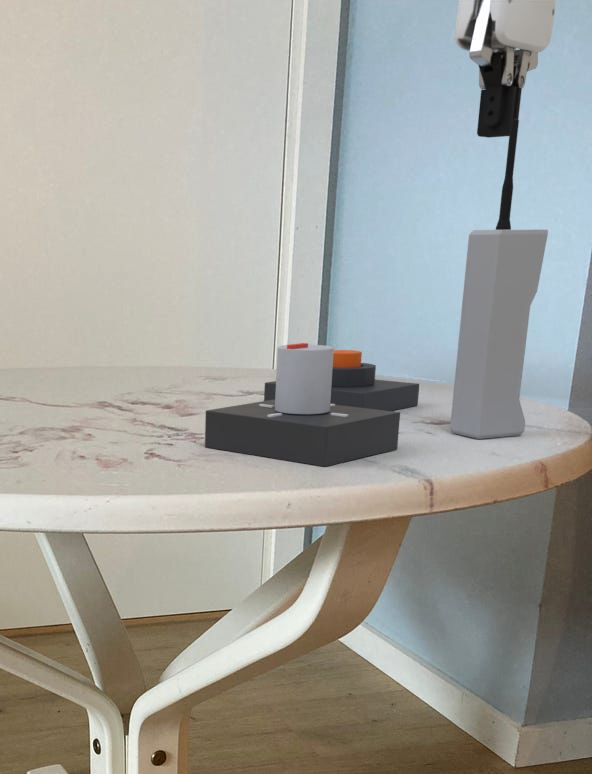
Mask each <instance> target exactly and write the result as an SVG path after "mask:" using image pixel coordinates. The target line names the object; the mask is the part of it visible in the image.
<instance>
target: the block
mask: <svg viewBox="0 0 592 774" xmlns="http://www.w3.org/2000/svg"><path fill="white" fill-rule="evenodd" d="M376 369H377V365H376V364H373V363H367V362H361V367H347V368H345V367H333V368H332V384H331V400H330V404H335V405H342V406H350V407H359V408H367V409H376V410H384V411H396V410H403V409H408V408H413V407H418V405H419V396H420V395H419V393H420V383H414V382H406V381H405V382H404V381H394V380H384V379H376ZM263 393H264V394H263V401H268V400H274V399H275V394H276V380H274V381H267V382H264V391H263Z"/></svg>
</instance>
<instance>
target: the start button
mask: <svg viewBox="0 0 592 774" xmlns="http://www.w3.org/2000/svg"><path fill="white" fill-rule="evenodd" d="M362 357H363V352H362V351H360V350H352V349H334V352H333V367H345V368H347V367H361V363H362Z"/></svg>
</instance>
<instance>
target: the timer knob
mask: <svg viewBox="0 0 592 774" xmlns="http://www.w3.org/2000/svg"><path fill="white" fill-rule="evenodd" d="M334 350H335V348H334V347H333V346H331V345H323V344H309V343H308V342H307V343H306V342H299V343H292V344H291V343H290V344H284V345H279V346H278V347H277V352H276V371H275V373H276V375H275V381H276V394H275V411H277V412H280V413H286V414H299V415H312V414H323V413H327V412H329V411H330V400H331V384H332V368H333V352H334Z"/></svg>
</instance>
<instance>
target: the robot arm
mask: <svg viewBox="0 0 592 774" xmlns="http://www.w3.org/2000/svg"><path fill="white" fill-rule="evenodd" d="M457 1H458V3H457V10H456V18H455V29H454V41H455V43H456V45H457V46H458V47H459V48H460V49H461V50H463V51H467V52H469V53H468V54H469V55H468V56H469V59H470V60H471V61H472V62H474V63H475V64H476V65H477V66H478V86H479V89H480V99H479V100H480V101H479V108H478V109H479V110H478V119H477V128H476V135H477V137H481V138H489V139H490V138H501V137H509V135H510V125H511V120H513V119H515V118H516V119H518V120H519V118H520V117H519V116H520V107H521V100H522V91H523V89H524V87H525V85H526V79H527V74H528V72H530V71H533V70H536V69H537V67H538V64H539V53H541V52H543V51H544V50H546V48H547V47H548V46H549V45H550V41H551V38H552V32H553V26H554V20H555V11H556V0H457Z"/></svg>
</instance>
